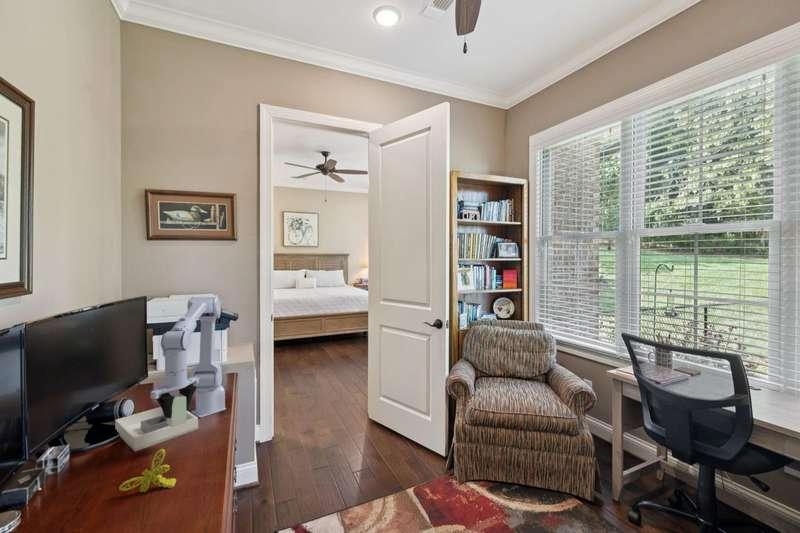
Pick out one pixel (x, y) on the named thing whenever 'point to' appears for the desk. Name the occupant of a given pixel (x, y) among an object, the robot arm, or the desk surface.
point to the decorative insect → (148, 478)
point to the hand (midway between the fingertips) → (176, 413)
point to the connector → (178, 411)
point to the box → (151, 428)
